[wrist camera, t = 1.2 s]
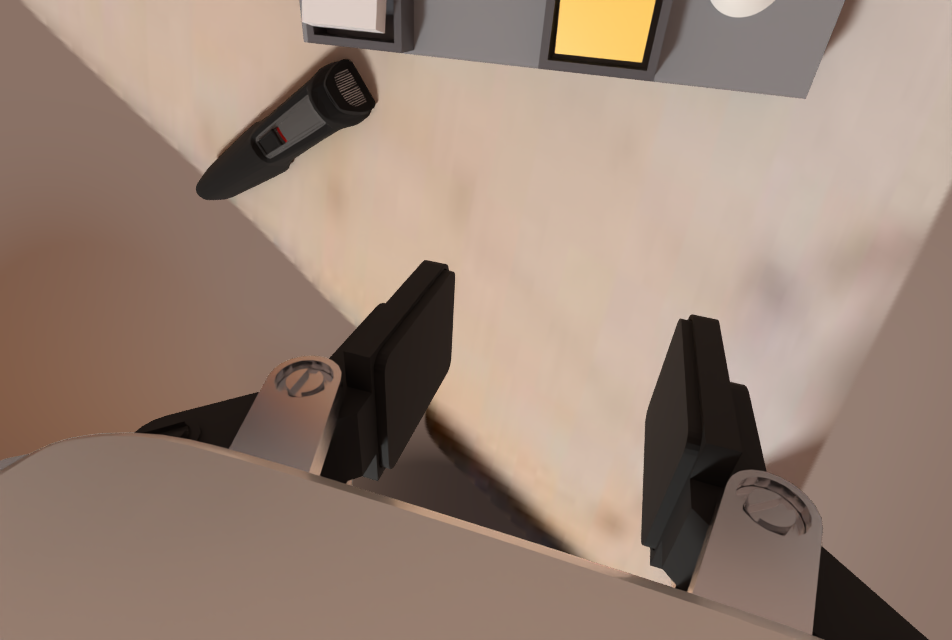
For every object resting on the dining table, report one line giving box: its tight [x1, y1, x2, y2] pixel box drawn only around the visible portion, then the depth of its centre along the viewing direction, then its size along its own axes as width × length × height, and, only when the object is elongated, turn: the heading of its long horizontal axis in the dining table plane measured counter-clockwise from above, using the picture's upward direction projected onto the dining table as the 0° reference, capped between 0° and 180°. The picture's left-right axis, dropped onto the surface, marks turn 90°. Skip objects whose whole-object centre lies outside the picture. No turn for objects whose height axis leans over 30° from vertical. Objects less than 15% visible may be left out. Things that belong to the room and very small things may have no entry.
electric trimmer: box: [196, 59, 375, 200], centre depth 35 cm, size 4×16×3 cm, turn 120°
